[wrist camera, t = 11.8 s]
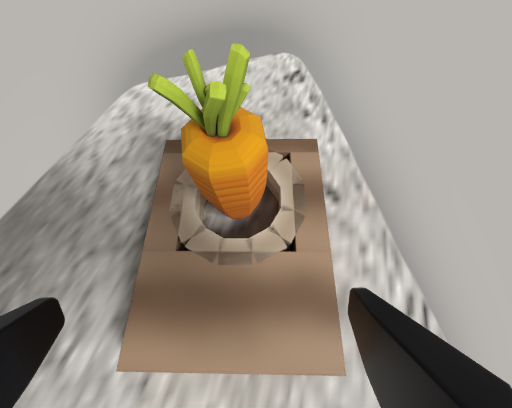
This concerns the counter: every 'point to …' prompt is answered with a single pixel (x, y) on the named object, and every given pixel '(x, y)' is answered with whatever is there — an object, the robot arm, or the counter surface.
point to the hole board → (237, 280)
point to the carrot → (221, 135)
